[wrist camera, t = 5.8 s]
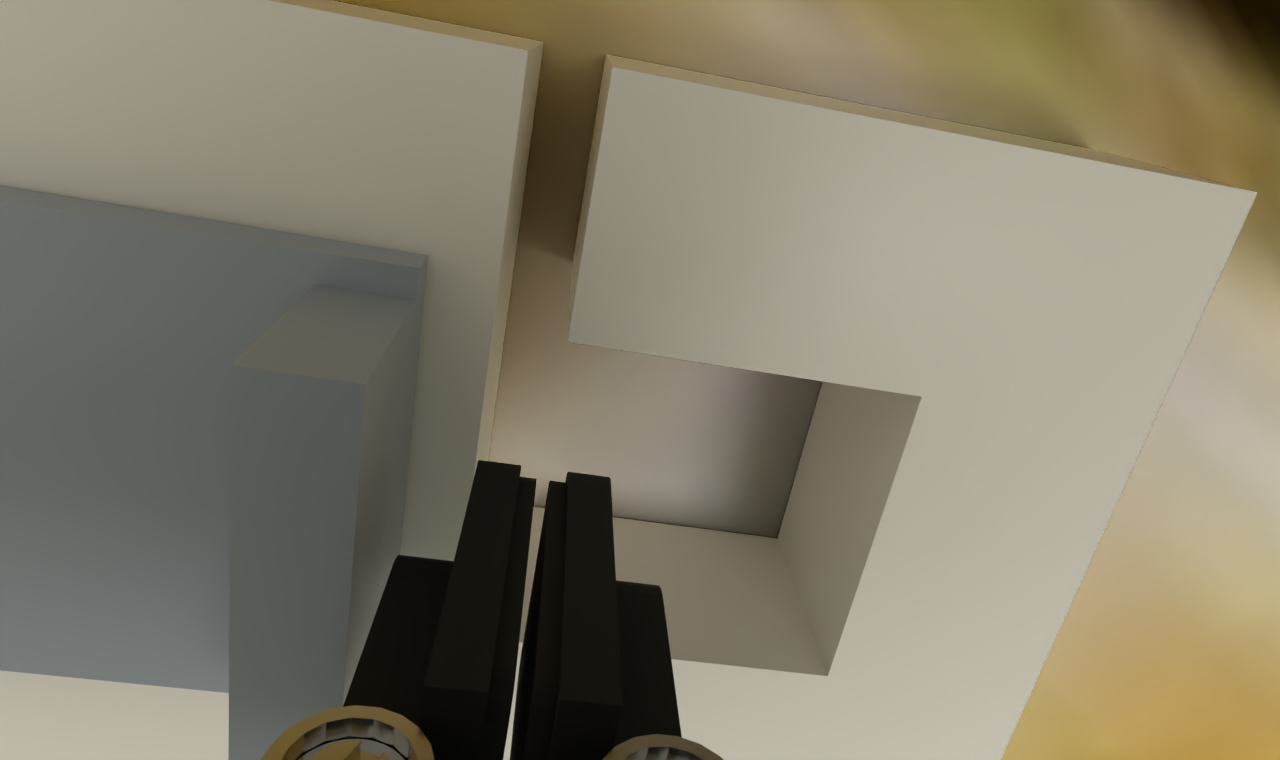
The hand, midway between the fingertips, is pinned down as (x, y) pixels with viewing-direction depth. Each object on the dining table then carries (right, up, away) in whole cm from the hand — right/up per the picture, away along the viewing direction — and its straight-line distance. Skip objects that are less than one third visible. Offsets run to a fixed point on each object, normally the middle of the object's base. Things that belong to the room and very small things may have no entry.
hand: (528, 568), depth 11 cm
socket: (-1, +2, +5) cm, 6 cm away
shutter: (-5, +1, +1) cm, 5 cm away
